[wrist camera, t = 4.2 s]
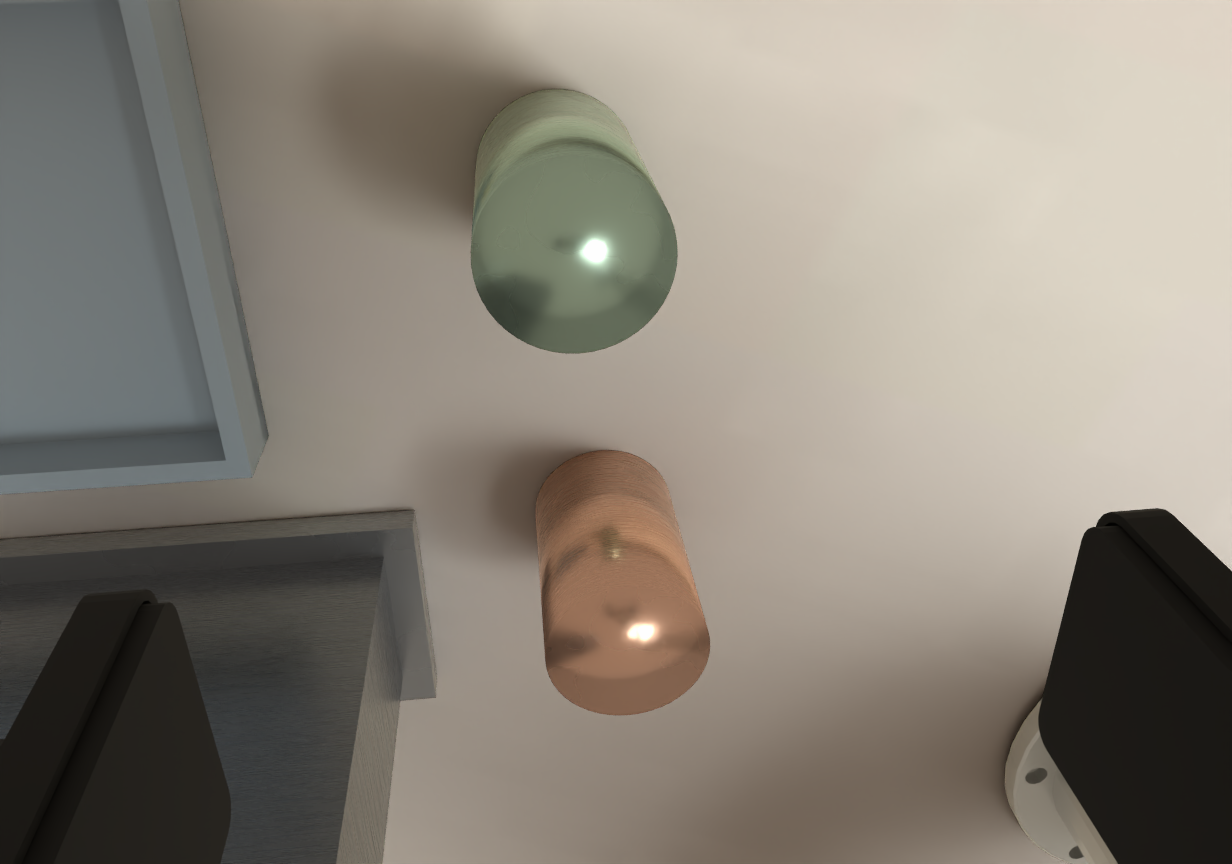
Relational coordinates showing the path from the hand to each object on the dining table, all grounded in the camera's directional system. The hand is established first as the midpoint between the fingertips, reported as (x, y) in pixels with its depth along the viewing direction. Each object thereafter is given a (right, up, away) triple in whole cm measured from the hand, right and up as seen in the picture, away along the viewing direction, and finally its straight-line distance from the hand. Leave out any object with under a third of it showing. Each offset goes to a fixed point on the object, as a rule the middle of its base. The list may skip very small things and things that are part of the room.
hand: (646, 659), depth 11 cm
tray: (-17, +7, +16) cm, 25 cm away
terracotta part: (-1, 0, +23) cm, 23 cm away
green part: (-2, +9, +17) cm, 20 cm away
